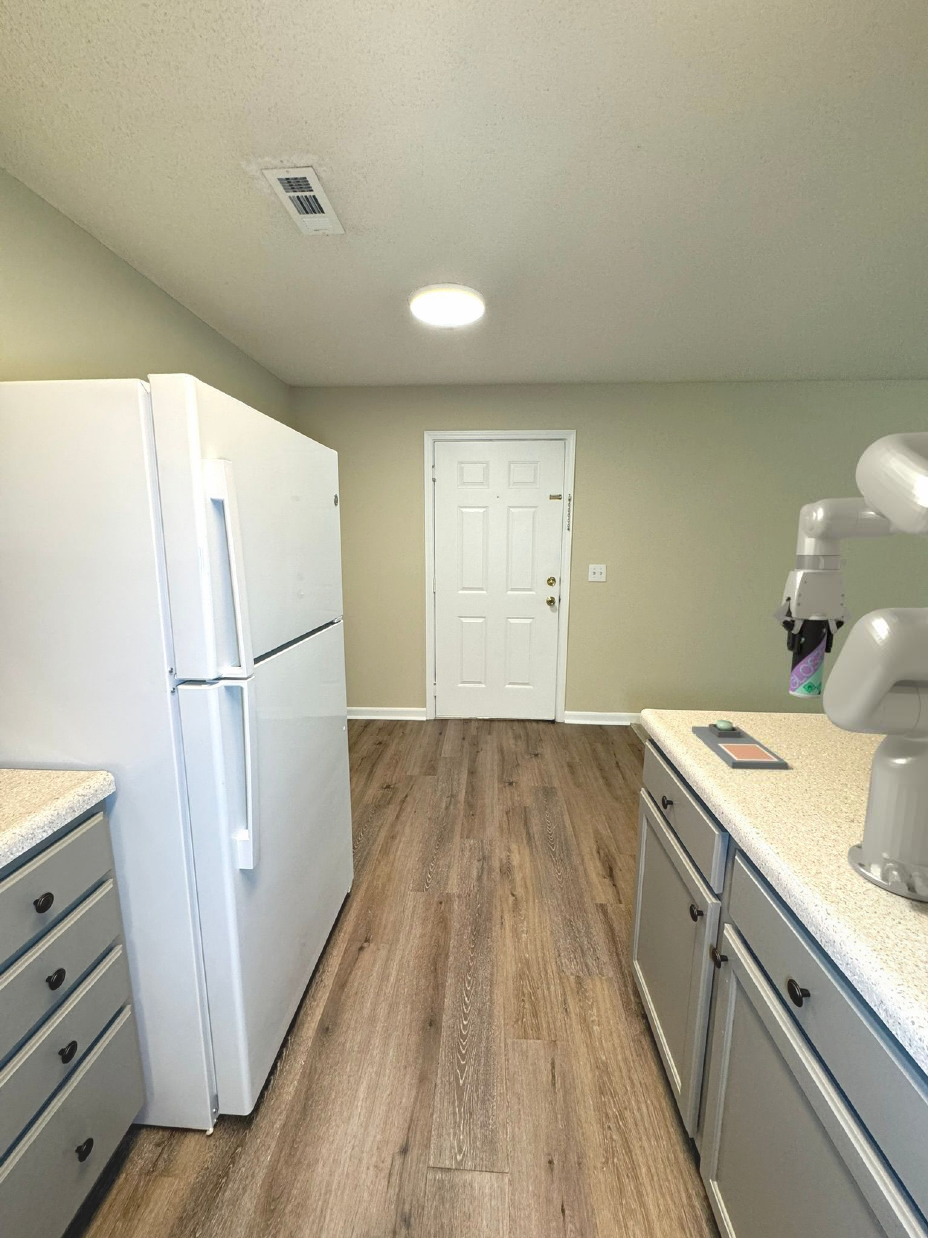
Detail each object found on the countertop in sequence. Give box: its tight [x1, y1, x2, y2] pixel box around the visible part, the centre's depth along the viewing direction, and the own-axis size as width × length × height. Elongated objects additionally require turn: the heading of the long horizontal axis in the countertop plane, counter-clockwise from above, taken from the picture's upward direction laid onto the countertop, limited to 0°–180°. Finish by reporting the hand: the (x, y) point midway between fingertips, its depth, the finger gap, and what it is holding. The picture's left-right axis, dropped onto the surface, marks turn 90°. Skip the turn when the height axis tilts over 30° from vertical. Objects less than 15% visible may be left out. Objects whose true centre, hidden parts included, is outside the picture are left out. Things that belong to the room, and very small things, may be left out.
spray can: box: [788, 613, 828, 699], centre depth 103 cm, size 6×6×20 cm
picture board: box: [691, 723, 789, 770], centre depth 120 cm, size 22×12×3 cm, turn 177°
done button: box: [716, 719, 734, 731], centre depth 126 cm, size 4×4×2 cm
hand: (808, 650), depth 103 cm, fingers closed on spray can, 5 cm apart
